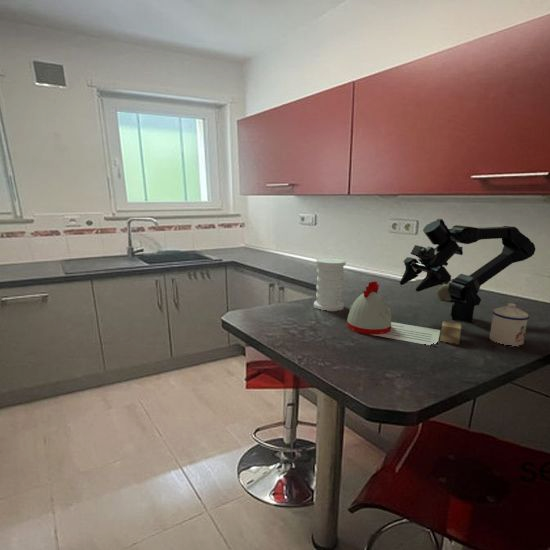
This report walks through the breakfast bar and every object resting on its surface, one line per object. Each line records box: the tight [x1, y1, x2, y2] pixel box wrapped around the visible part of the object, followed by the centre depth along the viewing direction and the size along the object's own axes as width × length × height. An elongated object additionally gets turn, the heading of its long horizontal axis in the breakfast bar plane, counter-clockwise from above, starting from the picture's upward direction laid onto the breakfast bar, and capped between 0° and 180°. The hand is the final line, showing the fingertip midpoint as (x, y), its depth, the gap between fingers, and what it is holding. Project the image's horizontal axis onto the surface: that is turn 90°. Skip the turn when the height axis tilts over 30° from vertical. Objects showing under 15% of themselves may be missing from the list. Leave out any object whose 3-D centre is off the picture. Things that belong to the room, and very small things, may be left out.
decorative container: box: [313, 257, 346, 312], centre depth 139 cm, size 12×12×18 cm
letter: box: [369, 321, 442, 346], centre depth 115 cm, size 19×15×1 cm
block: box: [439, 320, 462, 345], centre depth 109 cm, size 5×5×5 cm
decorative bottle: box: [436, 279, 454, 302], centre depth 161 cm, size 26×8×7 cm, turn 145°
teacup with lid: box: [489, 302, 530, 347], centre depth 109 cm, size 12×9×12 cm
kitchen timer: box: [346, 280, 392, 336], centre depth 117 cm, size 14×14×15 cm
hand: (408, 287), depth 121 cm, fingers open, 9 cm apart
